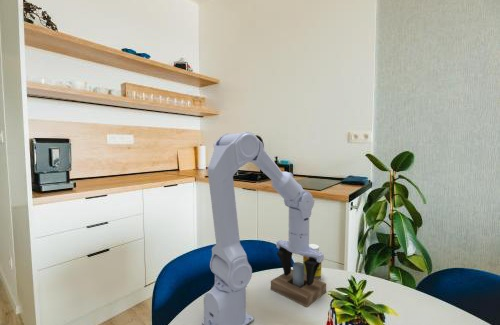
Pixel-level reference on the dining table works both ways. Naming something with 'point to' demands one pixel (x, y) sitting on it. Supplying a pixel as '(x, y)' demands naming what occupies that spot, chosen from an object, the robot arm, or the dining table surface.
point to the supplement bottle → (318, 272)
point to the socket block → (298, 289)
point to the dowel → (298, 274)
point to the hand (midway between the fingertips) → (298, 278)
